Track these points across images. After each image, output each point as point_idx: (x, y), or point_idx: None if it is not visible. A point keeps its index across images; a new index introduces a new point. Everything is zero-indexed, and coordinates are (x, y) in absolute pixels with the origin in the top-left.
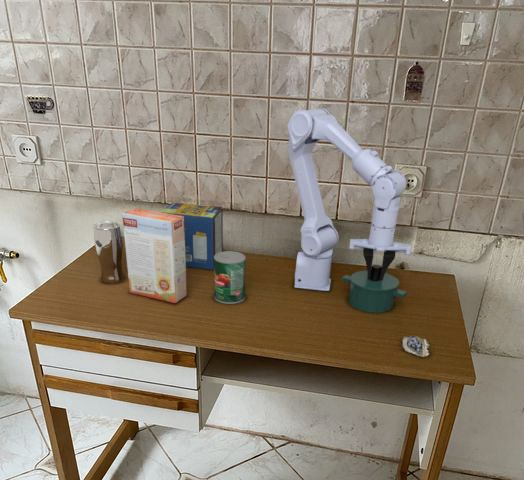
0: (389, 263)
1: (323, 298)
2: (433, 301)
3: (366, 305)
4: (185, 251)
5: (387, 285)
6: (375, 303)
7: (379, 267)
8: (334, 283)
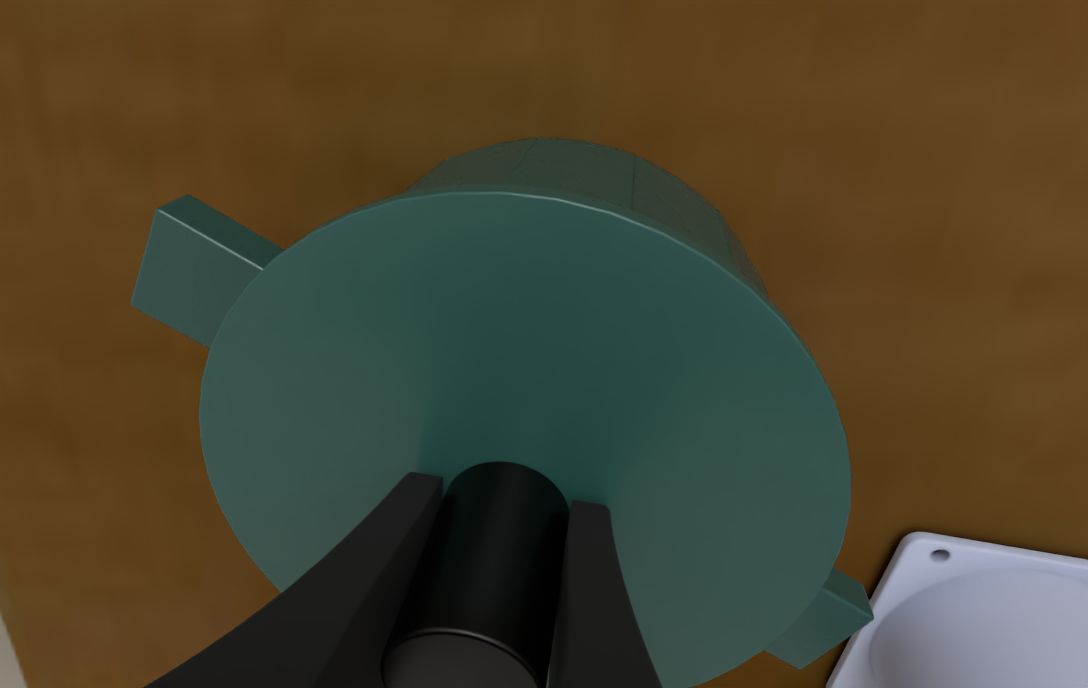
0: (173, 684)
1: (1011, 409)
2: (54, 407)
3: (632, 166)
4: None
5: (342, 355)
6: (529, 161)
7: (416, 650)
8: None
